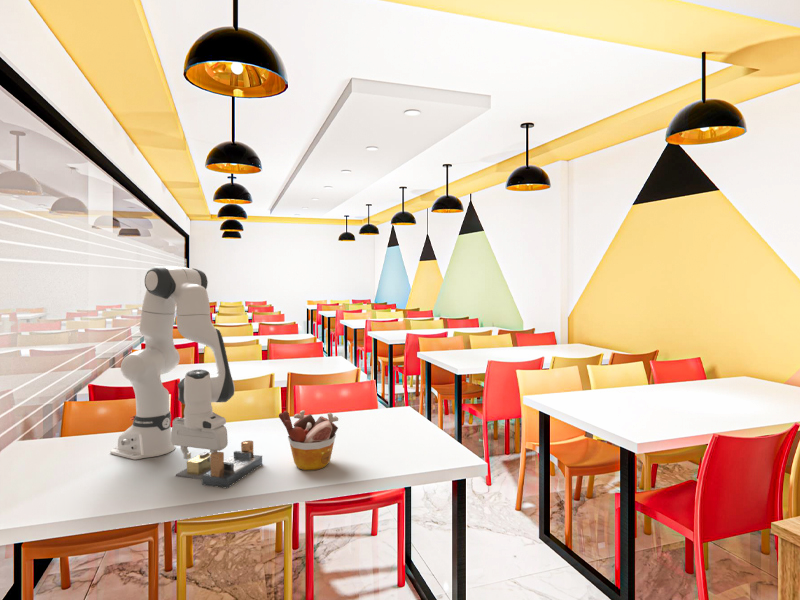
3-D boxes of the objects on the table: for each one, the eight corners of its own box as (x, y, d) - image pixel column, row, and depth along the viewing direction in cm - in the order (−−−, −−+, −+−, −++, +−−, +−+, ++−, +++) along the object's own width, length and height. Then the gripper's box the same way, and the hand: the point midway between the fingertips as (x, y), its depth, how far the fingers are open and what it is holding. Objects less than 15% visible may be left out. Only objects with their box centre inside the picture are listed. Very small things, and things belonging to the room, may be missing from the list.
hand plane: (227, 488, 152) (226, 456, 151) (202, 484, 154) (201, 453, 154) (262, 464, 171) (261, 436, 171) (239, 461, 173) (239, 433, 173)
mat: (175, 476, 161) (175, 474, 161) (198, 463, 172) (197, 462, 172) (204, 479, 158) (204, 477, 158) (225, 467, 169) (225, 465, 169)
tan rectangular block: (198, 474, 160) (198, 460, 160) (187, 473, 162) (186, 459, 161) (214, 465, 168) (213, 452, 168) (203, 464, 169) (202, 450, 169)
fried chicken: (332, 453, 182) (332, 399, 181) (345, 469, 167) (344, 411, 166) (277, 461, 174) (276, 405, 173) (285, 478, 159) (284, 417, 158)
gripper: (165, 419, 164) (166, 460, 164) (218, 424, 158) (218, 467, 159) (179, 414, 170) (180, 453, 171) (230, 419, 164) (230, 460, 165)
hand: (199, 460), depth 165 cm, fingers open, 8 cm apart
